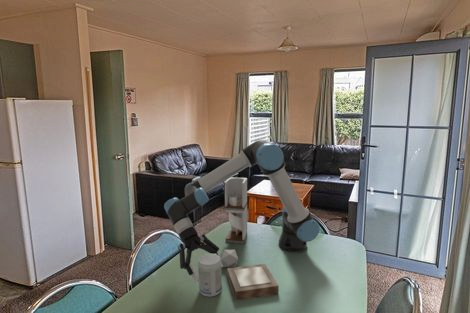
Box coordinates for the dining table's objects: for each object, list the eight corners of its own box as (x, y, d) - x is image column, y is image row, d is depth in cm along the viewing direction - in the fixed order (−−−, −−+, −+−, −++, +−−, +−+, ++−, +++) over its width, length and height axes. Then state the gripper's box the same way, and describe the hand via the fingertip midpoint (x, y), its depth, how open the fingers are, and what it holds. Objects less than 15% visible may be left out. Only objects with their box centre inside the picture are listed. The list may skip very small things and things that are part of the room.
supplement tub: (216, 282, 138) (216, 251, 135) (225, 293, 129) (225, 261, 127) (195, 287, 133) (194, 256, 131) (203, 300, 125) (202, 266, 122)
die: (232, 273, 145) (242, 255, 147) (216, 263, 146) (227, 245, 148) (232, 270, 153) (242, 253, 155) (217, 261, 154) (227, 244, 156)
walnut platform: (265, 271, 146) (265, 263, 145) (278, 294, 128) (278, 285, 128) (227, 276, 142) (227, 267, 141) (235, 300, 125) (235, 291, 124)
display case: (229, 233, 188) (229, 177, 182) (247, 235, 186) (247, 178, 179) (225, 241, 177) (224, 182, 171) (244, 243, 175) (243, 183, 168)
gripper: (203, 226, 148) (226, 266, 141) (158, 243, 130) (182, 290, 123) (210, 218, 144) (234, 259, 136) (165, 235, 126) (190, 283, 118)
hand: (209, 274), depth 129 cm, fingers open, 13 cm apart
